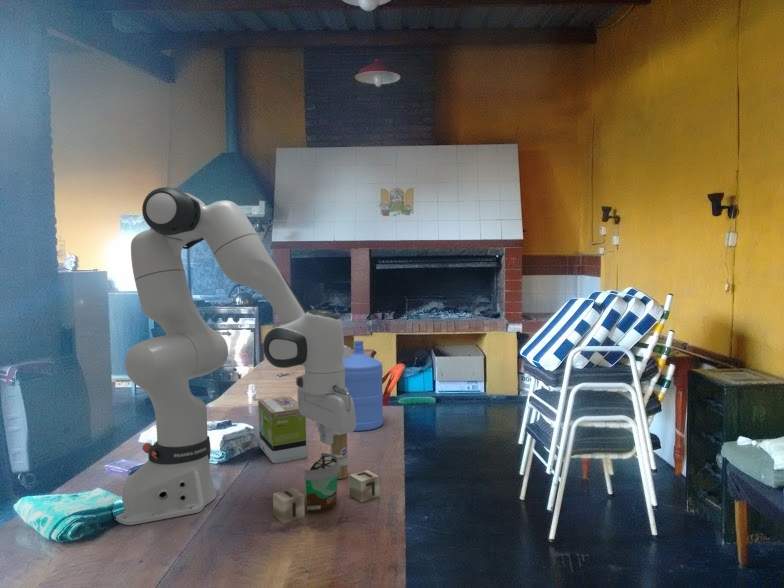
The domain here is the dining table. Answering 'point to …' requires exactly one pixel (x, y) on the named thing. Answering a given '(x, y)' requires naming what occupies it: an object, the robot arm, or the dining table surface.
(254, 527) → the dining table surface
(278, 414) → the tea box
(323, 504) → the food container
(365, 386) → the water jug
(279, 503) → the numbered block one
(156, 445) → the robot arm
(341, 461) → the sprinkles bottle
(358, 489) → the numbered block seven
